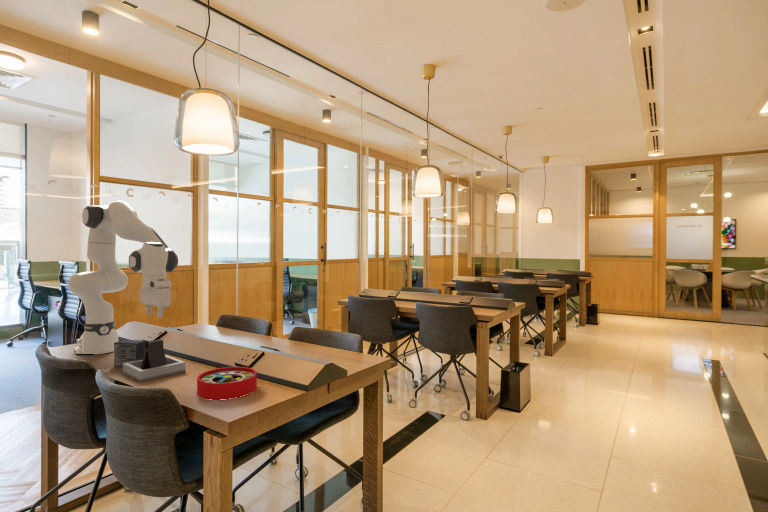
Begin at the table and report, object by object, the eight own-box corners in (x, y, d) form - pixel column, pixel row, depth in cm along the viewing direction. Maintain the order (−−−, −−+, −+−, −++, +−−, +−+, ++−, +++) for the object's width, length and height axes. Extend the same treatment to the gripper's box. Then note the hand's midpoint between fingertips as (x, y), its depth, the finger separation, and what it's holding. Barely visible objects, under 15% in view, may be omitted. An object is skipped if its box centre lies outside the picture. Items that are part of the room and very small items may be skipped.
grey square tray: (122, 373, 168) (122, 363, 168) (166, 364, 181) (166, 355, 181) (140, 382, 157) (140, 371, 157) (185, 371, 171) (185, 362, 170)
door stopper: (140, 370, 169) (140, 340, 169) (155, 366, 174) (155, 337, 174) (153, 373, 164) (153, 343, 164) (167, 369, 170) (167, 340, 169)
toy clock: (265, 368, 158) (240, 385, 138) (265, 383, 158) (240, 403, 138) (216, 365, 161) (184, 382, 141) (216, 380, 161) (184, 399, 141)
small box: (147, 363, 182) (147, 339, 182) (136, 368, 175) (136, 343, 175) (124, 362, 183) (124, 339, 183) (113, 367, 176) (113, 342, 176)
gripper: (135, 280, 173) (135, 313, 174) (157, 284, 160) (157, 319, 161) (151, 279, 178) (151, 312, 178) (173, 283, 165) (173, 317, 166)
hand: (154, 315), depth 169 cm, fingers open, 8 cm apart
